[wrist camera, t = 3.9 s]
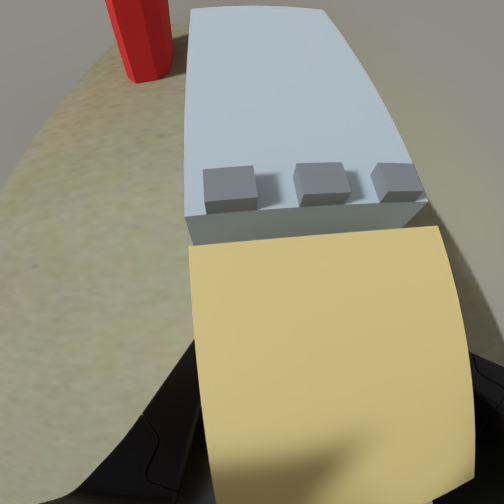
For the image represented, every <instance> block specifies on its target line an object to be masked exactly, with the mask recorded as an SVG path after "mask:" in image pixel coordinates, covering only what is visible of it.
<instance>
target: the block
mask: <svg viewBox="0 0 504 504" xmlns="http://www.w3.org/2000/svg"><path fill="white" fill-rule="evenodd" d="M189 266H190V284H191V300H192V314H193V326H194V338H195V350H196V360H197V370H198V380H199V389H200V397H201V406H202V414H203V422H204V429H205V436H206V443H207V450H208V457H209V463H210V470H211V476H212V482H213V488H214V494H215V499H216V504H426V503H428V502H430V501H432V500H434V499H436V498H438V497H440V496H442V495H444V494H446V493H448V492H450V491H451V490H453V489H455V488H457V487H459V486H460V485H462V484H464V483H466V482H467V481H469V480H471V479H472V478H474V471H475V416H474V399H473V387H472V377H471V368H470V361H469V353H468V347H467V341H466V335H465V329H464V324H463V318H462V313H461V309H460V304H459V300H458V295H457V291H456V287H455V283H454V279H453V275H452V271H451V267H450V264H449V260H448V257H447V253H446V250H445V247H444V243H443V240H442V237H441V234H440V231H439V228H438V226H426V227H413V228H399V229H386V230H373V231H360V232H347V233H335V234H323V235H311V236H299V237H287V238H275V239H264V240H252V241H241V242H230V243H219V244H208V245H197V246H189Z"/></svg>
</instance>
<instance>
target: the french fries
mask: <svg viewBox="0 0 504 504" xmlns="http://www.w3.org/2000/svg"><path fill="white" fill-rule="evenodd" d="M105 2H106V5H107V9H108V12H109V16H110V20H111V23H112V27H113V30H114V34H115V37H116V40H117V44H118V47H119V50H120V54H121V57H122V60H123V63H124V66H125V70H126V73H127V76H128V78H129V79H131V80H132V81H134V82H135V83H140V82H146V81H153V80H158V79H159V78H161V77H162V76H163V75H165V74H166V73H167V72H169V71H170V67H171V63H172V57H173V42H172V34H171V25H170V16H169V7H168V0H105Z"/></svg>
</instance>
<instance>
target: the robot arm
mask: <svg viewBox="0 0 504 504" xmlns="http://www.w3.org/2000/svg"><path fill="white" fill-rule="evenodd" d="M468 353H469V361H470V368H471V377H472V387H473V399H474V416H475V471H474V478H472V479H471V480H469V481H467V482H466V483H464V484H462V485H460V486H459V487H457V488H455V489H453V490H451V491H450V492H448V493H446V494H444V495H442V496H440V497H438V498H436V499H434V500H432V502H433V504H504V367H503V366H500V365H498V364H495V363H493V362H491V361H489V360H486V359H484V358H482V357H480V356H478V355H476V354H474V353H473V354H472V353H471V352H470V351H468ZM142 414H143V415H140V417H139V418H138V420H137V421H136V422H135V424H134V425H133V427H132V428H131V429H130V431H129V432H128V433H127V434H126V436H125V437H124V438H123V440H122V441H121V442H120V443H119V444H118V445H117V447H116V448H115V449H114V450H113V451H112V452H111V453H110V454H109V455H108V457H107V458H106V459H105V460H104V461H103V462H102V463H101V464H100V465H99V466H98V467H97V468H96V469H95V470H94V471H93V472H92V474H91V475H90V476H89V477H88V478H87V479H86V480H85V481H84V482H83V483H82V484H81V485H80V486H79V487H78V488H76V489H75V490H74V491H72V492H71V493H69V494H67V495H65V496H63V497H61V498H58V499H55V500H51V501H47V502H44V503H40V504H216V499H215V494H214V488H213V482H212V476H211V470H210V463H209V457H208V450H207V443H206V436H205V429H204V422H203V414H202V406H201V397H200V389H199V380H198V370H197V360H196V350H195V339H194V340H193V342H192V343H191V344H190V346H189V347H188V349H187V350H186V352H185V353H184V354H183V356H182V357H181V359H180V360H179V362H178V363H177V364H176V366H175V367H174V369H173V370H172V371H171V373H170V374H169V376H168V377H167V379H166V380H165V381H164V383H163V384H162V386H161V387H160V389H159V390H158V391H157V393H156V394H155V396H154V397H153V399H152V400H151V401H150V403H149V404H148V406H147V407H146V408H145V410H144V411H143V413H142Z"/></svg>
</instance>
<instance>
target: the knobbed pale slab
mask: <svg viewBox="0 0 504 504" xmlns="http://www.w3.org/2000/svg"><path fill="white" fill-rule="evenodd" d="M190 16H191V17H190V27H189V40H188V54H187V72H186V93H185V125H184V210H185V219H186V223H187V226H188V229H189V232H190V236H191V239H192V242H193V245H194V246H197V245H208V244H219V243H230V242H241V241H252V240H264V239H275V238H287V237H299V236H311V235H323V234H335V233H347V232H360V231H373V230H386V229H399V228H403V227H404V226H405V225H406V224H407V223H408V222H409V221H410V220H411V219H412V218H413V217H414V216H415V215H416V214H417V213H418V212H419V211H420V210H421V209H422V207H423V206H424V205H425V204H426V203H427V202H428V199H427V197H426V194H425V192H424V188H423V186H422V183H421V181H420V179H419V176H418V174H417V171H416V169H415V167H414V164H413V163H412V160H411V158H410V156H409V153H408V152H407V149H406V147H405V145H404V143H403V141H402V138H401V136H400V134H399V132H398V130H397V128H396V126H395V124H394V122H393V120H392V118H391V116H390V114H389V112H388V111H387V109H386V107H385V105H384V104H383V101H382V100H381V98H380V96H379V94H378V92H377V91H376V89H375V87H374V85H373V84H372V82H371V80H370V79H369V77H368V75H367V74H366V72H365V70H364V69H363V67H362V65H361V64H360V62H359V61H358V59H357V57H356V56H355V55H354V53H353V51H352V50H351V48H350V47H349V45H348V44H347V42H346V41H345V39H344V38H343V37H342V35H341V34H340V32H339V31H338V29H337V28H336V27H335V25H334V24H333V22H332V21H331V20H330V19H329V17H328V16H327V14H326V13H325V12H324V10H319V9H309V8H297V7H281V6H226V7H209V8H197V9H191V15H190Z"/></svg>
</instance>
